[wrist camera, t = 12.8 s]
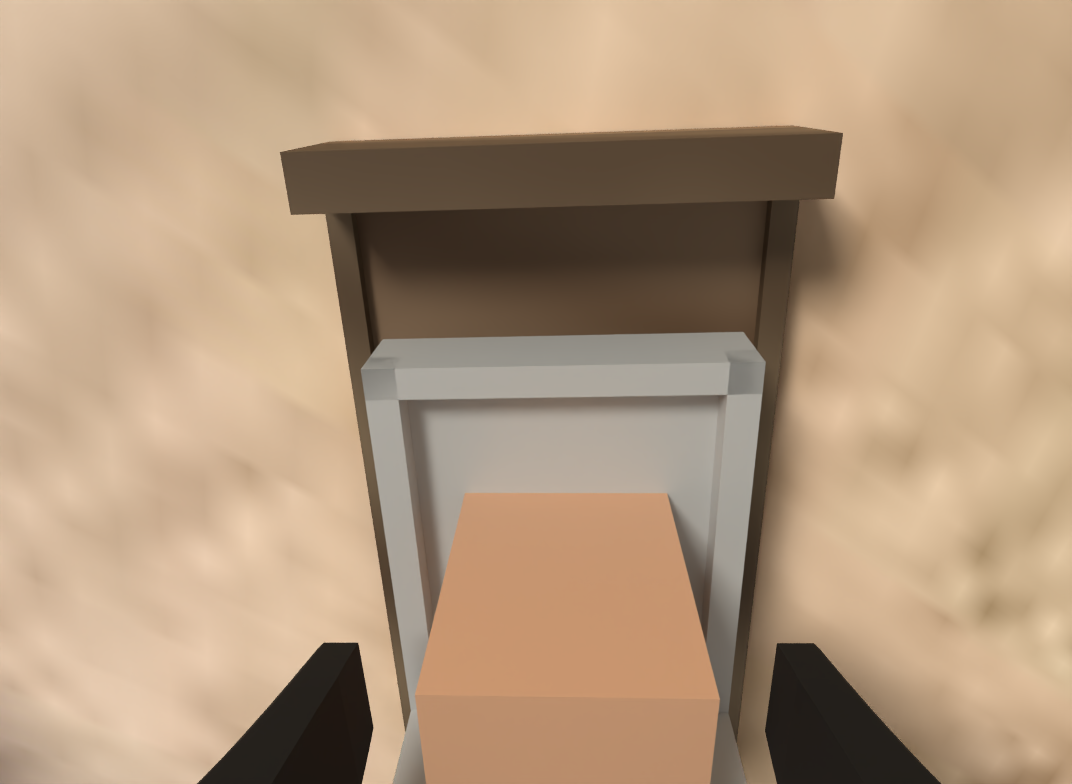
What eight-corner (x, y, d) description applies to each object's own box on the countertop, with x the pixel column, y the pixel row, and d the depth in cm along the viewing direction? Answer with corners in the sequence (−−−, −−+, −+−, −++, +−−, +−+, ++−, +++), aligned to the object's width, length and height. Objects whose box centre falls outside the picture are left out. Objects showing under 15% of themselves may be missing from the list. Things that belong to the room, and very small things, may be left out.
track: (715, 842, 22) (734, 935, 19) (431, 837, 22) (415, 928, 20) (792, 125, 13) (842, 133, 11) (329, 141, 14) (279, 152, 11)
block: (657, 649, 15) (697, 891, 10) (476, 646, 15) (438, 884, 11) (667, 493, 13) (719, 699, 9) (464, 492, 14) (414, 694, 9)
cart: (703, 651, 18) (745, 817, 14) (434, 650, 18) (396, 812, 14) (731, 316, 14) (799, 406, 10) (394, 323, 14) (327, 413, 10)
